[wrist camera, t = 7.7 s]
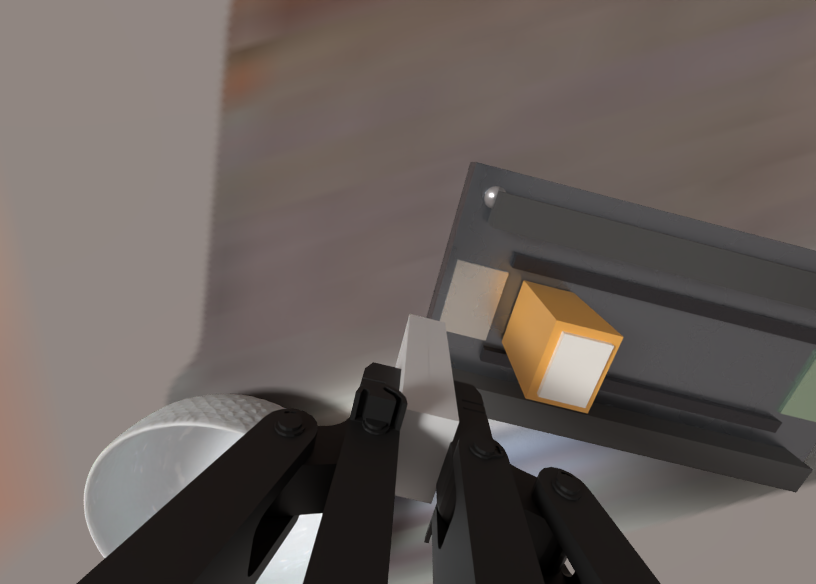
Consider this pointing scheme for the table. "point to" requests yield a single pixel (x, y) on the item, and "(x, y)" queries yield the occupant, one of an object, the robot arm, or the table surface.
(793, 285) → the long dark grey rail
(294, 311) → the table surface
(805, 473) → the dark grey edge bar
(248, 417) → the cereal bowl
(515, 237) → the grey slider base
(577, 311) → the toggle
